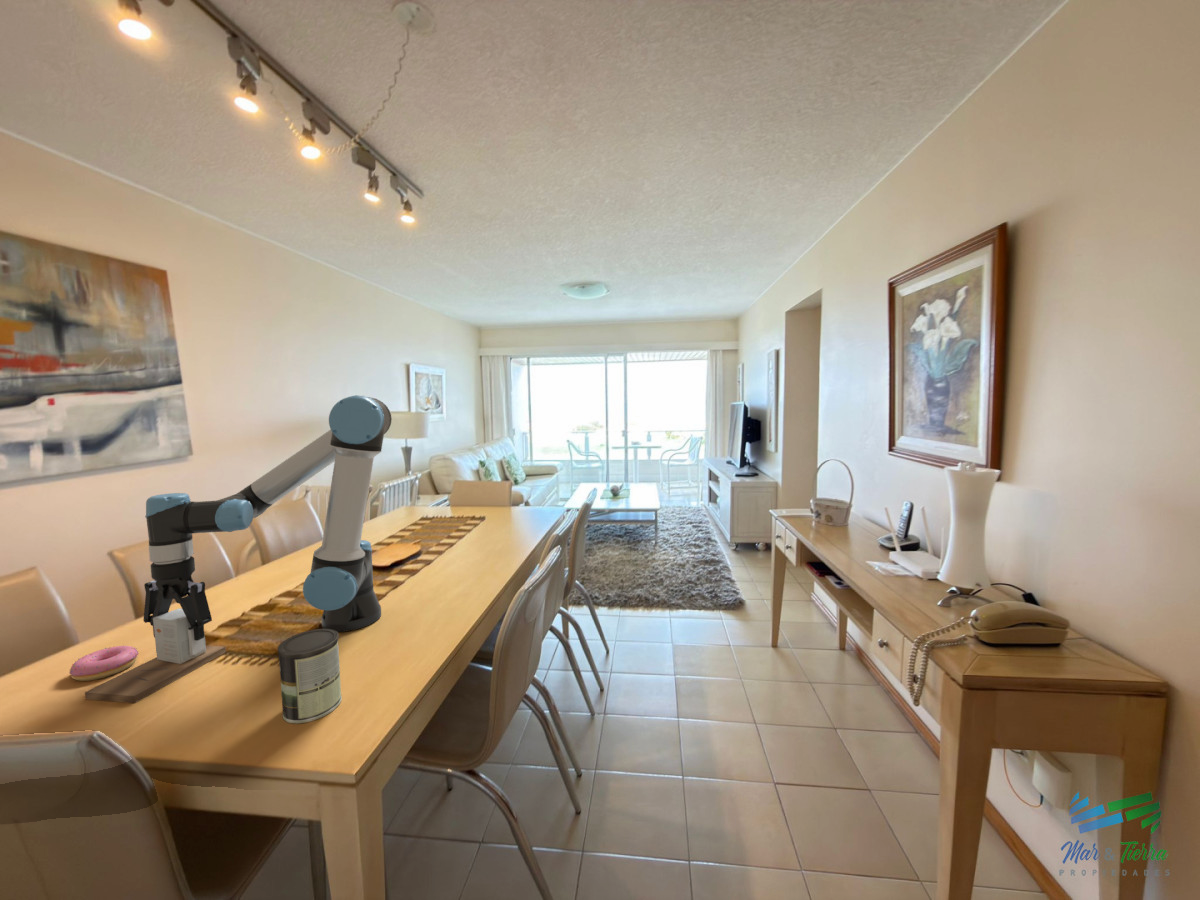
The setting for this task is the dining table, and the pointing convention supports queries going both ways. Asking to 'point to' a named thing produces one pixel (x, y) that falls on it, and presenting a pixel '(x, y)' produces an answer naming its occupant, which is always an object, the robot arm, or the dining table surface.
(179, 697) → the dining table surface
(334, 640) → the coffee can
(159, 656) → the small box
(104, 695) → the board
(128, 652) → the doughnut
